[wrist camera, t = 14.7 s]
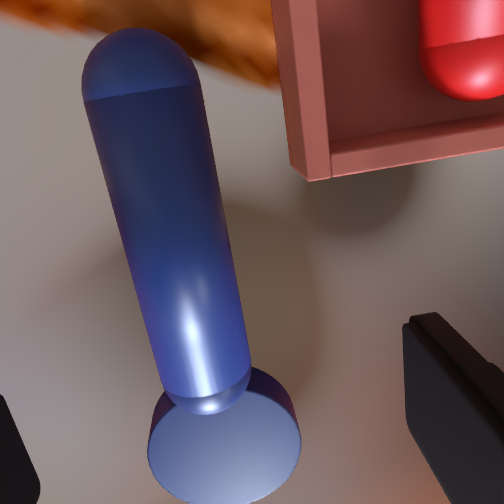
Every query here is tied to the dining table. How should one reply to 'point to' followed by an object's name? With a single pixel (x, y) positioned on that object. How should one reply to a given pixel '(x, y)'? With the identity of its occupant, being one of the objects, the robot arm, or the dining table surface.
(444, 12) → the red spoon
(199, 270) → the blue spoon
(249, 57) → the dining table surface
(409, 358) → the robot arm
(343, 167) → the rose tray
